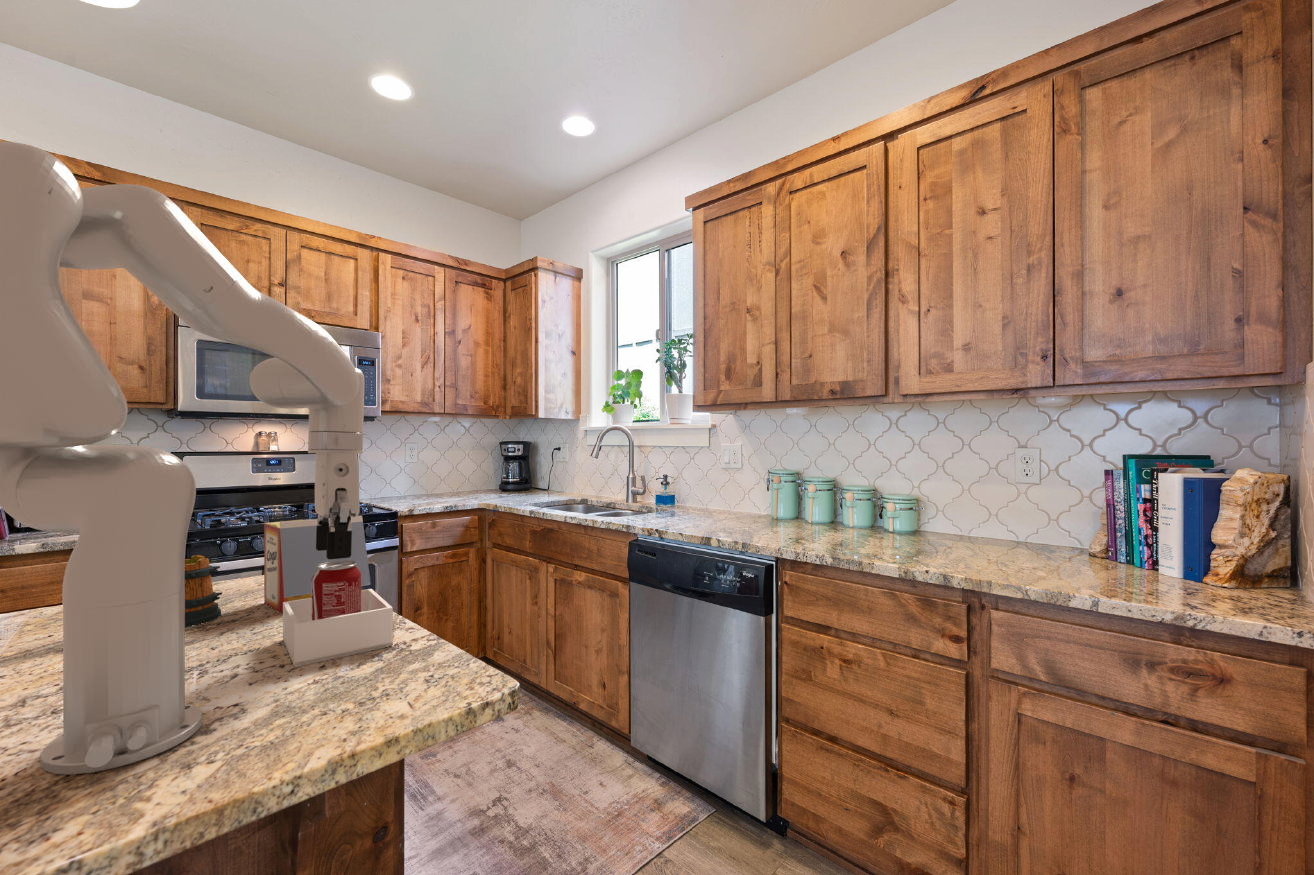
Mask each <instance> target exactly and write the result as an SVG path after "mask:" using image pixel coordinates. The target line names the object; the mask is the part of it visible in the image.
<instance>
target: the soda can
mask: <svg viewBox="0 0 1314 875" xmlns="http://www.w3.org/2000/svg"><path fill="white" fill-rule="evenodd" d="M356 565H357V562H355V561H332V562H326V563H322V564H319V565H317V566H316V568H317V571H316V572H315V574H314V575H313V577H312V621H313V620H318V619H324V618H330V617H336V616H341V615H347V614H353V613H359V612H361V590H362V586H361V572H360V571H359V570H358V568H357V567H356Z"/></svg>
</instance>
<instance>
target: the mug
mask: <svg viewBox="0 0 1314 875" xmlns="http://www.w3.org/2000/svg"><path fill="white" fill-rule="evenodd" d="M220 568H221V566H220V565H216V566H215V565H214V566H213V565H210V560H209V557H205V556H204V555H200V554H197V555H191V557H190V558H187V559H186V558H185V568H184V569H185V571H184V588H185V628H189V627H188V626H190V627H193V626H192V625H196V626H199V624H200V625H202V624H201V623H204V624H207V623H206V622H208V623H210V622H213V621H215V619H216V620H217V618H218V617H219V616H220V617H222V609H221V608H220V607H219V603H218V602H216V601H217V600H220V598H221V597H220V596H221V595H223V592H221V591H220V592H216V591H214V588H213V581H212V574H214V573H217V572H218V571H219V569H220ZM220 617H219V618H220ZM212 620H213V621H212Z"/></svg>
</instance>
